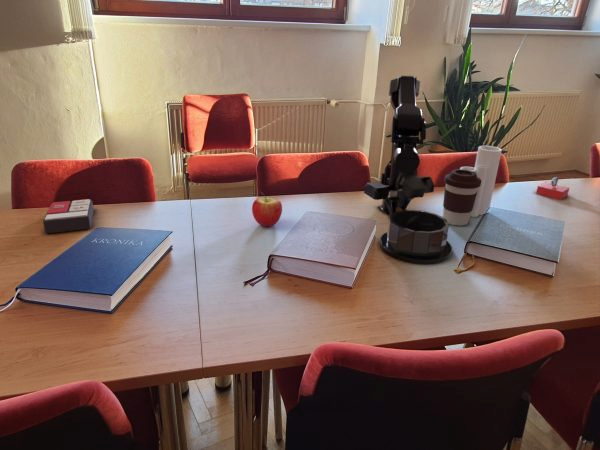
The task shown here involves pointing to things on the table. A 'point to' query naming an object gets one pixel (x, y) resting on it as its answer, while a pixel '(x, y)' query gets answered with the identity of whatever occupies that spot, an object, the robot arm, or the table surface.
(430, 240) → the bowl
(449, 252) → the turntable
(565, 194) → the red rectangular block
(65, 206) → the grey labelled box
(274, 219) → the apple
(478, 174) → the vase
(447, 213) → the coffee cup
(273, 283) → the table surface
